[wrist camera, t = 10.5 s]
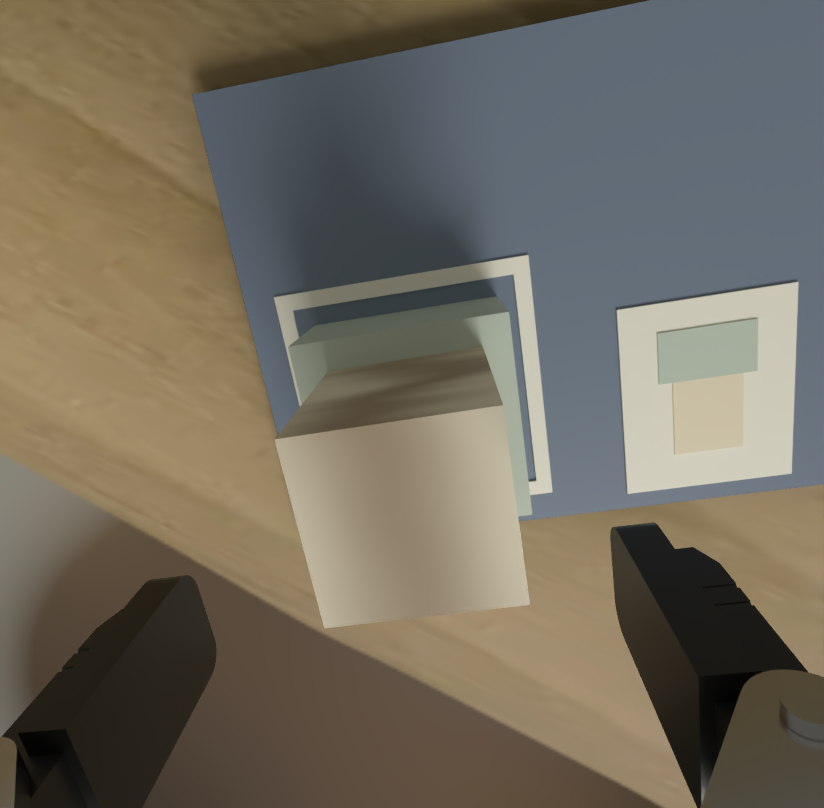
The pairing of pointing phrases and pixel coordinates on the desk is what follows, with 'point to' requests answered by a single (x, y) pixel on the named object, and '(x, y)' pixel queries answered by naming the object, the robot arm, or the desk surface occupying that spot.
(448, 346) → the base block
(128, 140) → the desk surface
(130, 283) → the desk surface
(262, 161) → the build board
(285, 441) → the maple block
